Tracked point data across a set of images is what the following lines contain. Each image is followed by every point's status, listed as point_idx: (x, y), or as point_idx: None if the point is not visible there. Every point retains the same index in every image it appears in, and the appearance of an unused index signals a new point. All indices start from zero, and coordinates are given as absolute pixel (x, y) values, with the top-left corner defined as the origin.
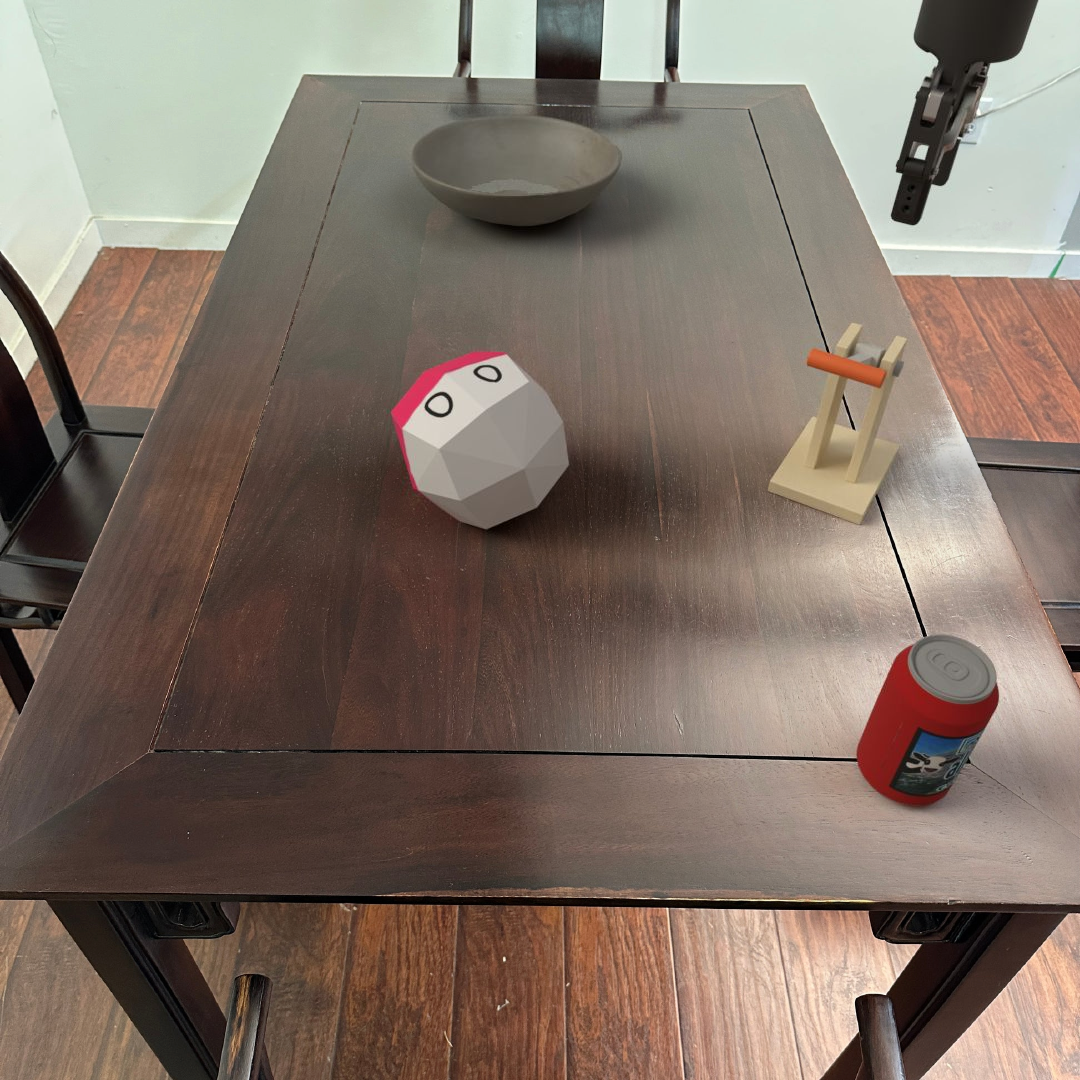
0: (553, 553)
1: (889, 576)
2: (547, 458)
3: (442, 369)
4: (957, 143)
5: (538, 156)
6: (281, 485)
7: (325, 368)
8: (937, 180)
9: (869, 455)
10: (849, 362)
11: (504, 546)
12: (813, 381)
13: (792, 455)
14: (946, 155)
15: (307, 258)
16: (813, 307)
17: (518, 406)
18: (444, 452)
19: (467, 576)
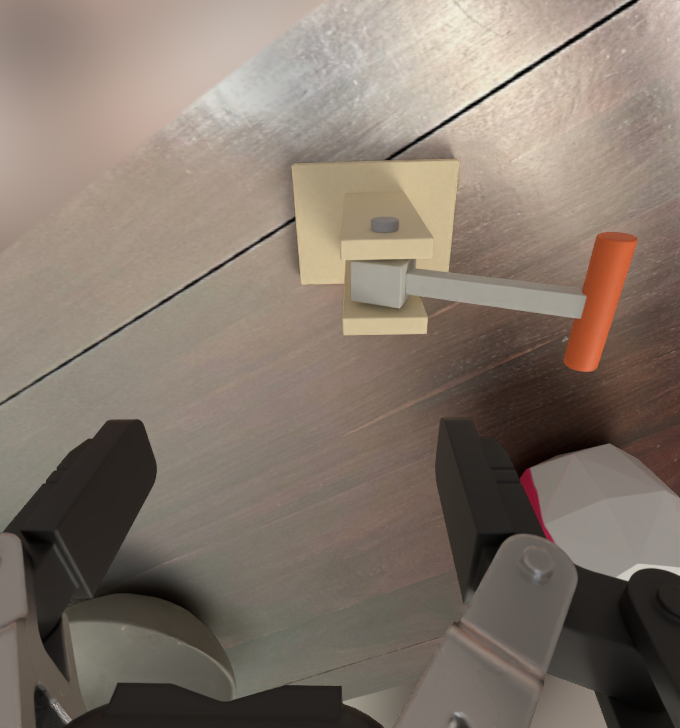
0: (616, 401)
1: (536, 87)
2: (621, 478)
3: None
4: (60, 528)
5: (82, 651)
6: None
7: (457, 609)
8: (138, 443)
9: (349, 194)
10: (609, 307)
11: (620, 434)
12: (214, 307)
13: None
14: (96, 503)
15: (334, 671)
16: (69, 360)
17: (655, 547)
18: None
19: (665, 439)
